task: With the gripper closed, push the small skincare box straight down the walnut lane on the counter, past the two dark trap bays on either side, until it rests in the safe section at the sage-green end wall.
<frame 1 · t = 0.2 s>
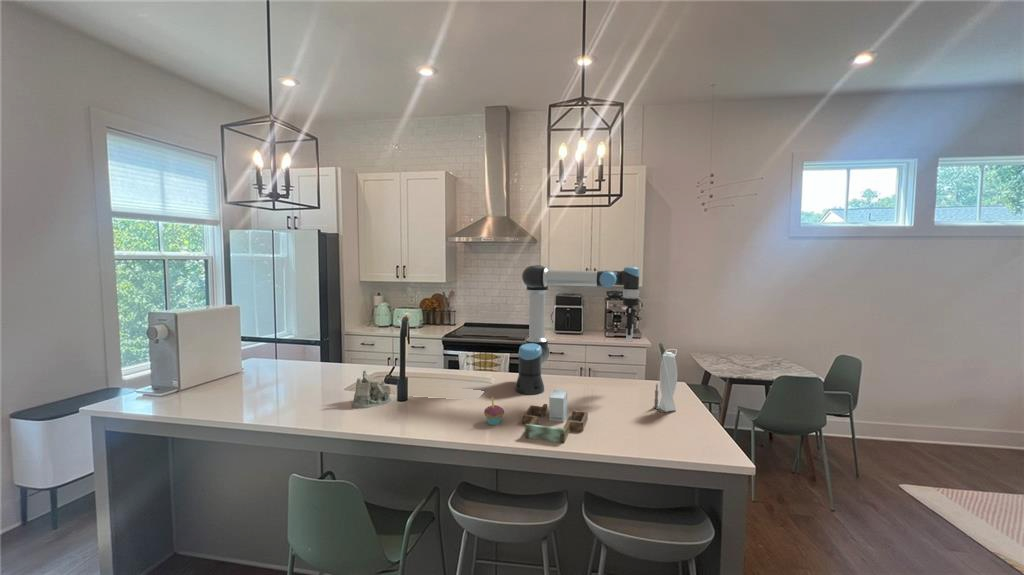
hand: (629, 339, 220), 28 cm above the countertop, tool pointing down, fingers open, 13 cm apart
cupcake: (494, 423, 180), on the countertop
skincare box: (558, 417, 186), on the countertop
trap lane: (553, 425, 177), on the countertop
skyscraper: (666, 410, 197), on the countertop
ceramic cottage: (371, 403, 203), on the countertop
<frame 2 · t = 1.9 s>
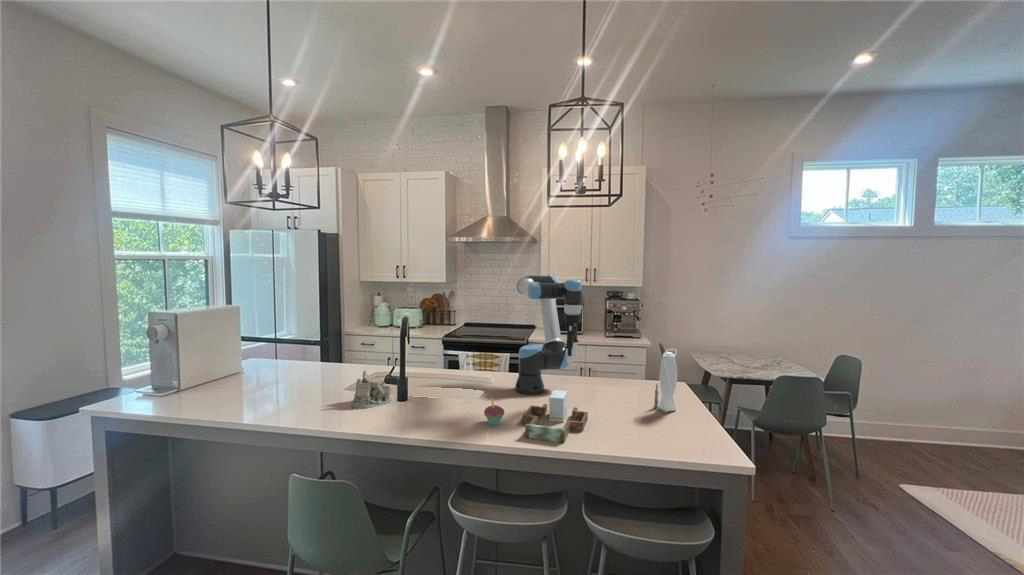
hand: (571, 359, 199), 22 cm above the countertop, tool pointing down, fingers open, 13 cm apart
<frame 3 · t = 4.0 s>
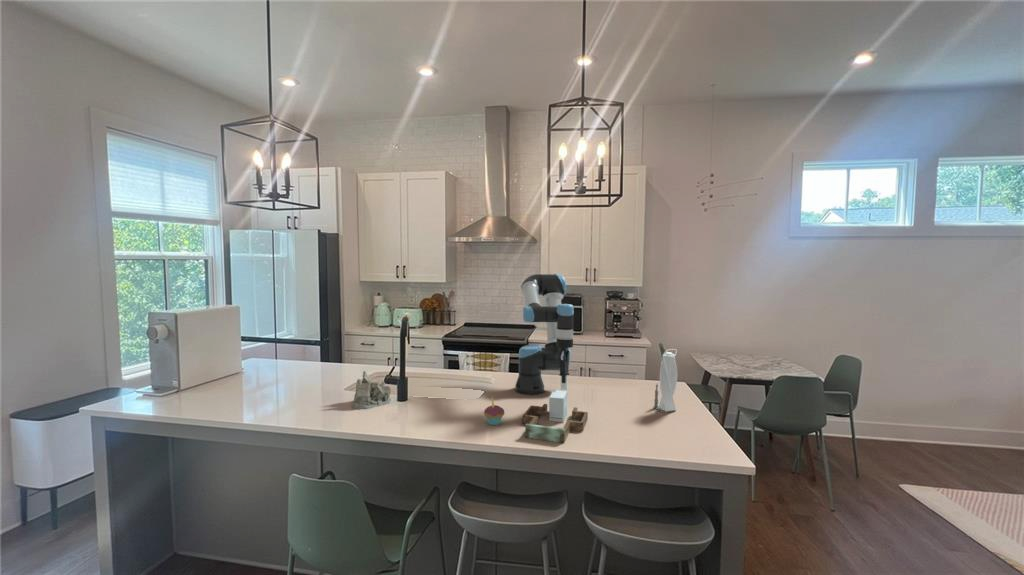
hand: (564, 389, 197), 9 cm above the countertop, tool pointing down, fingers closed
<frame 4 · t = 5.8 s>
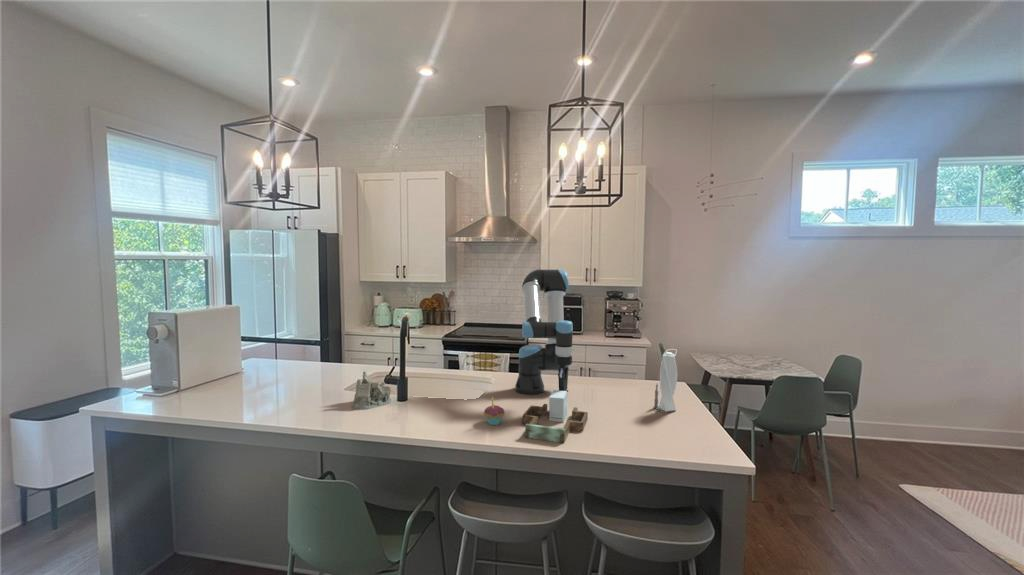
hand: (562, 406, 196), 2 cm above the countertop, tool pointing down, fingers closed
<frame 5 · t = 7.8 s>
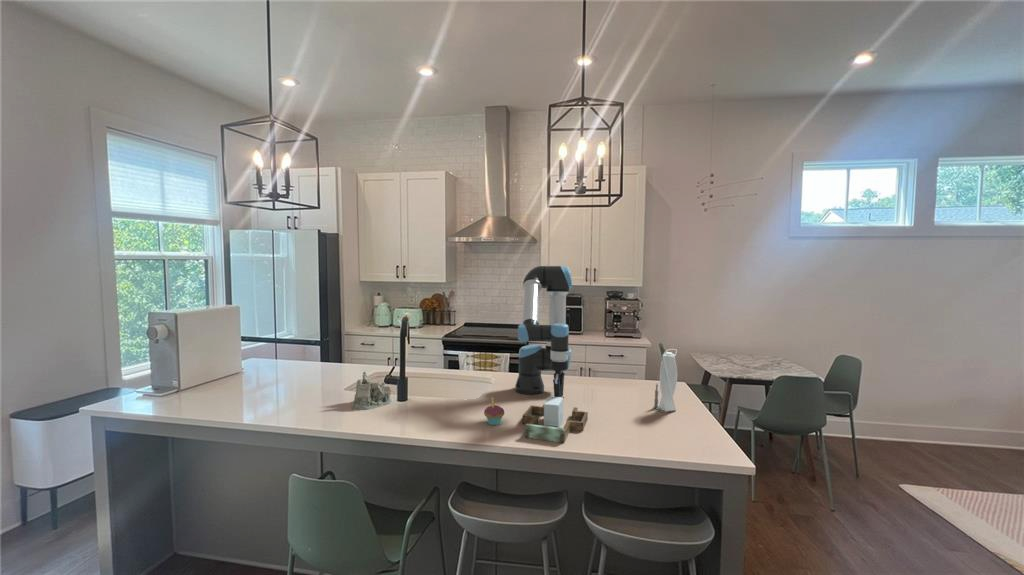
hand: (558, 413, 186), 2 cm above the countertop, tool pointing down, fingers closed
skincare box: (553, 425, 178), on the countertop, touching hand
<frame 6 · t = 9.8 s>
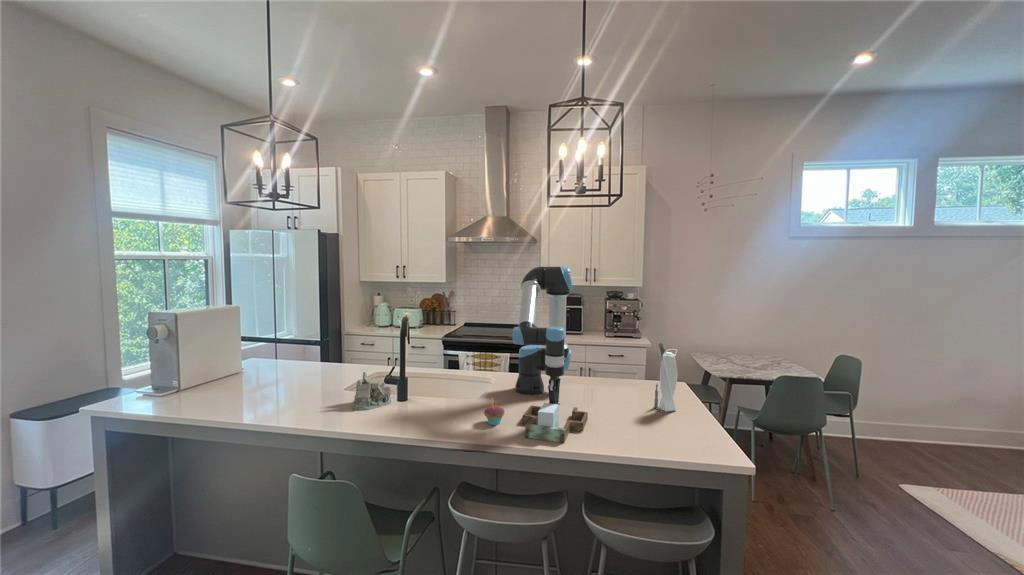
hand: (553, 421, 177), 2 cm above the countertop, tool pointing down, fingers closed
skincare box: (548, 434, 169), on the countertop, touching hand, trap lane
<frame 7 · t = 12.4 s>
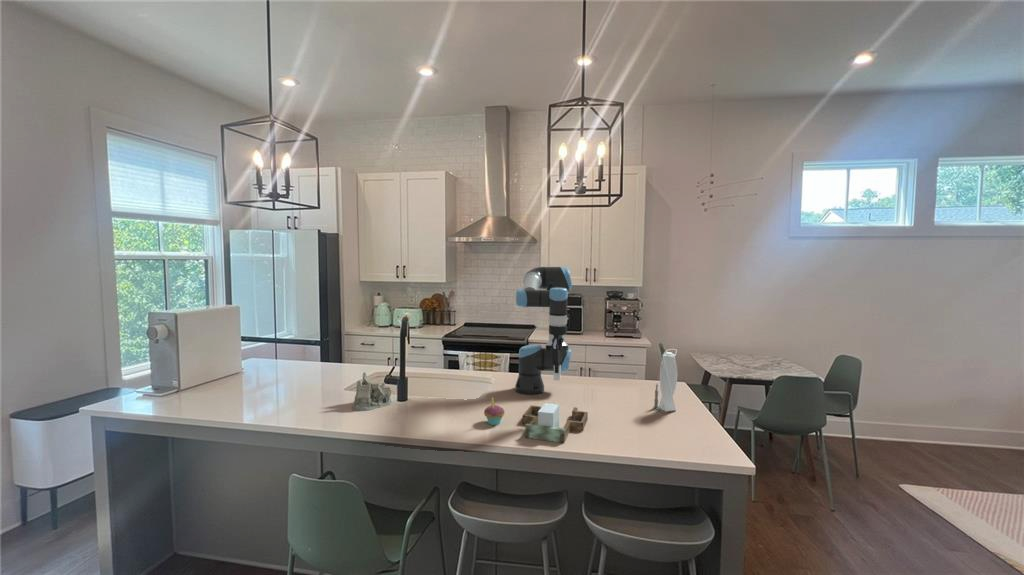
hand: (557, 379, 182), 17 cm above the countertop, tool pointing down, fingers closed
skincare box: (548, 434, 169), on the countertop
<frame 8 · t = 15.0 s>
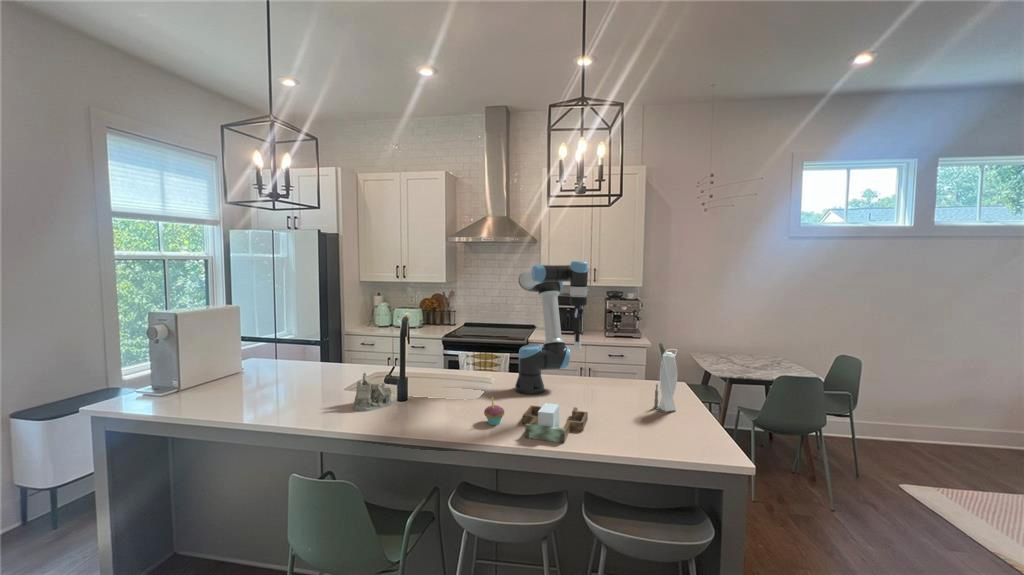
hand: (577, 348, 193), 28 cm above the countertop, tool pointing down, fingers closed
at the end: skincare box inside the target area (0.2 cm from its centre), on the countertop; skincare box tilted 0° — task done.
